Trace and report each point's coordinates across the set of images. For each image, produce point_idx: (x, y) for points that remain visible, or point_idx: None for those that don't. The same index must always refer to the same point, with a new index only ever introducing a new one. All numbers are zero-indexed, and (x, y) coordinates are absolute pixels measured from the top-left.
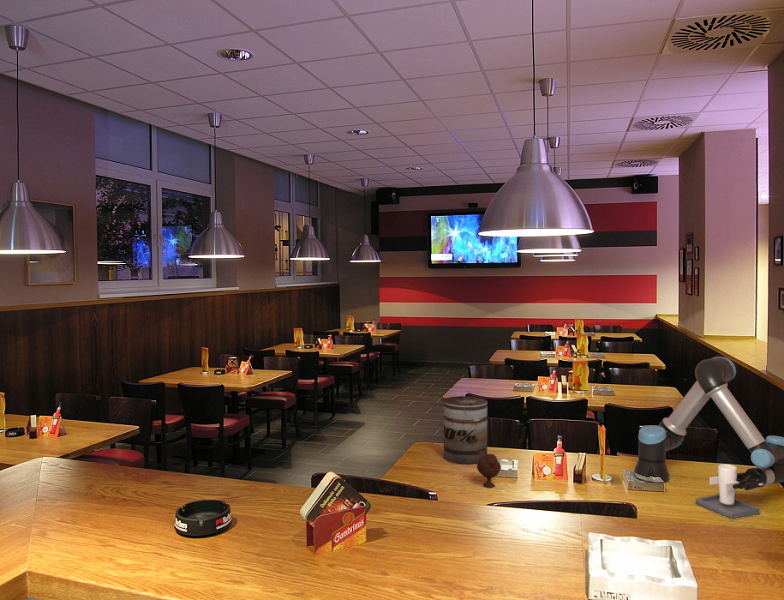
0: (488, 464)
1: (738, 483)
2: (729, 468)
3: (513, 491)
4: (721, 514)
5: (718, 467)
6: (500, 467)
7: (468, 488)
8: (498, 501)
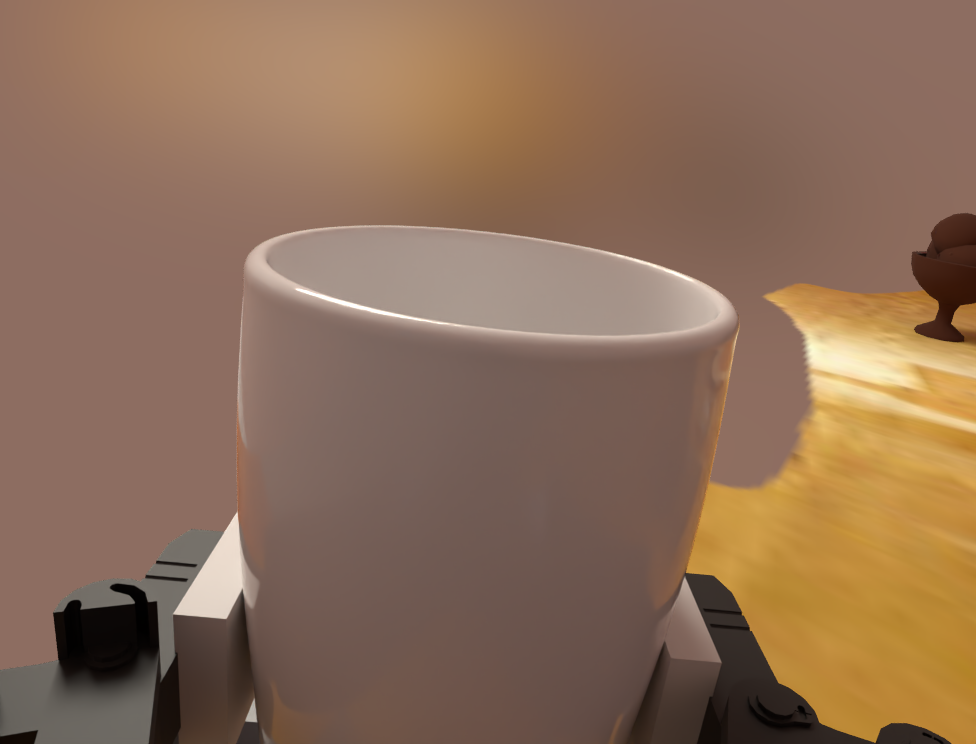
0: (932, 241)
1: (175, 647)
2: (605, 467)
3: (889, 343)
4: None
5: (599, 283)
6: (953, 266)
7: (900, 315)
8: (786, 310)
